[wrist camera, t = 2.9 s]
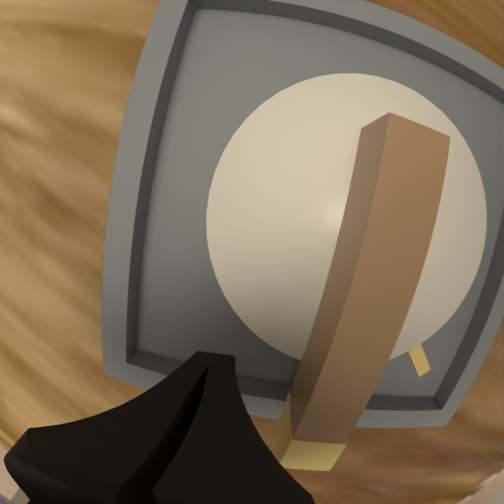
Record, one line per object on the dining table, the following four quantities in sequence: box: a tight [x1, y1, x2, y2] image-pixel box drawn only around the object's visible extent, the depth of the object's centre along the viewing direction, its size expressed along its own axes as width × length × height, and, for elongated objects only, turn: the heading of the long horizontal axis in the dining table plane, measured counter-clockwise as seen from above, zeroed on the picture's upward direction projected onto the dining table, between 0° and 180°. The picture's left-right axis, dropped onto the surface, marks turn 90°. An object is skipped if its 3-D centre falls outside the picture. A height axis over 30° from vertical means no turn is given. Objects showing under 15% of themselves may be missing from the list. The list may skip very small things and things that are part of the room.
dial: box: [206, 73, 487, 471], centre depth 9 cm, size 10×13×4 cm
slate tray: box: [102, 0, 504, 428], centre depth 11 cm, size 18×18×2 cm
